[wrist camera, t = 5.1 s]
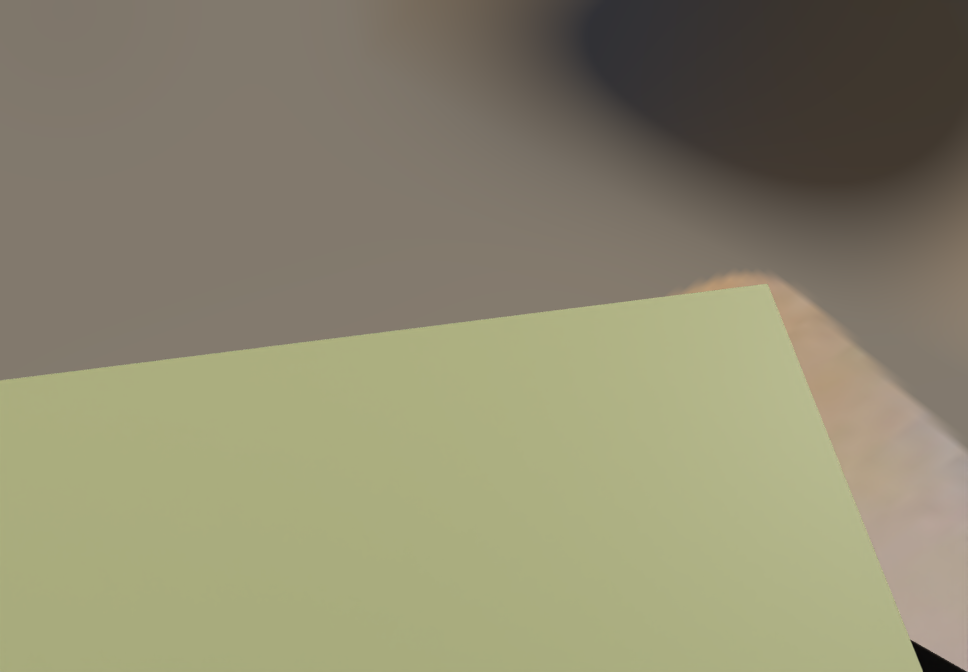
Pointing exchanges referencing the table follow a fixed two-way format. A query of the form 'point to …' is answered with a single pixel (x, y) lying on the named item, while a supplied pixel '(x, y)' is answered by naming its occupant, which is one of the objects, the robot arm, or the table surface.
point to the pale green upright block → (445, 505)
